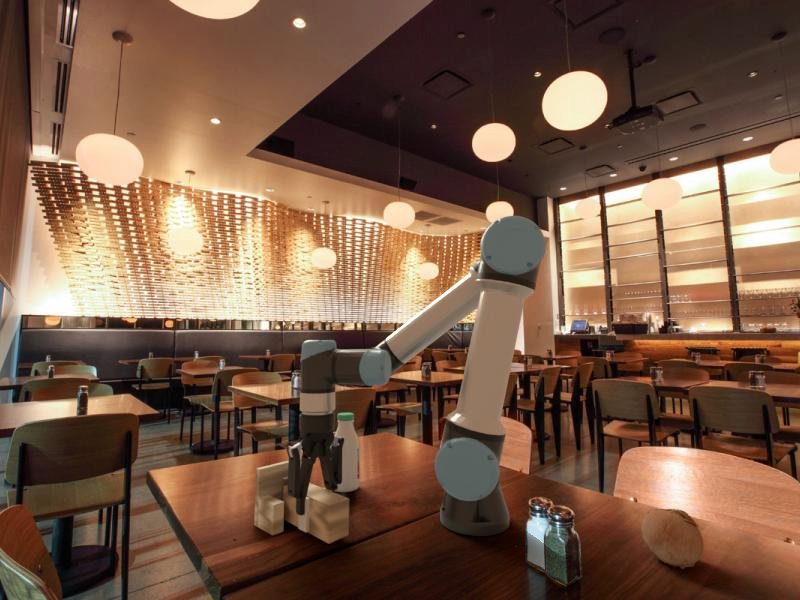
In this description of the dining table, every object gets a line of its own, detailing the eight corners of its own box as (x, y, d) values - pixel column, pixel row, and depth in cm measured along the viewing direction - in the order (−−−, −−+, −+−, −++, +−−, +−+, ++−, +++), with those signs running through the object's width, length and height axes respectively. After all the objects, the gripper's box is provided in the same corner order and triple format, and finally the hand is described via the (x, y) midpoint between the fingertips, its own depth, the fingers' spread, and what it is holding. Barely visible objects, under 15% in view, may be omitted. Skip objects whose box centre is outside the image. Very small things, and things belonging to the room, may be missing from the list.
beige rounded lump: (693, 578, 75) (716, 527, 75) (684, 584, 69) (710, 529, 69) (638, 541, 82) (660, 494, 82) (626, 544, 76) (649, 493, 76)
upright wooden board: (323, 516, 96) (324, 462, 97) (272, 535, 86) (274, 475, 87) (304, 507, 100) (305, 456, 102) (254, 525, 91) (255, 468, 92)
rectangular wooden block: (348, 534, 84) (349, 491, 84) (328, 543, 80) (329, 498, 81) (300, 511, 95) (301, 473, 96) (280, 518, 91) (282, 478, 92)
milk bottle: (354, 494, 109) (354, 416, 111) (326, 492, 111) (327, 415, 113) (362, 484, 117) (363, 411, 119) (336, 482, 118) (337, 410, 121)
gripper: (338, 405, 99) (337, 508, 96) (270, 415, 85) (266, 534, 83) (360, 408, 94) (359, 517, 91) (291, 419, 80) (287, 547, 78)
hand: (315, 525), depth 87 cm, fingers closed on rectangular wooden block, 5 cm apart
